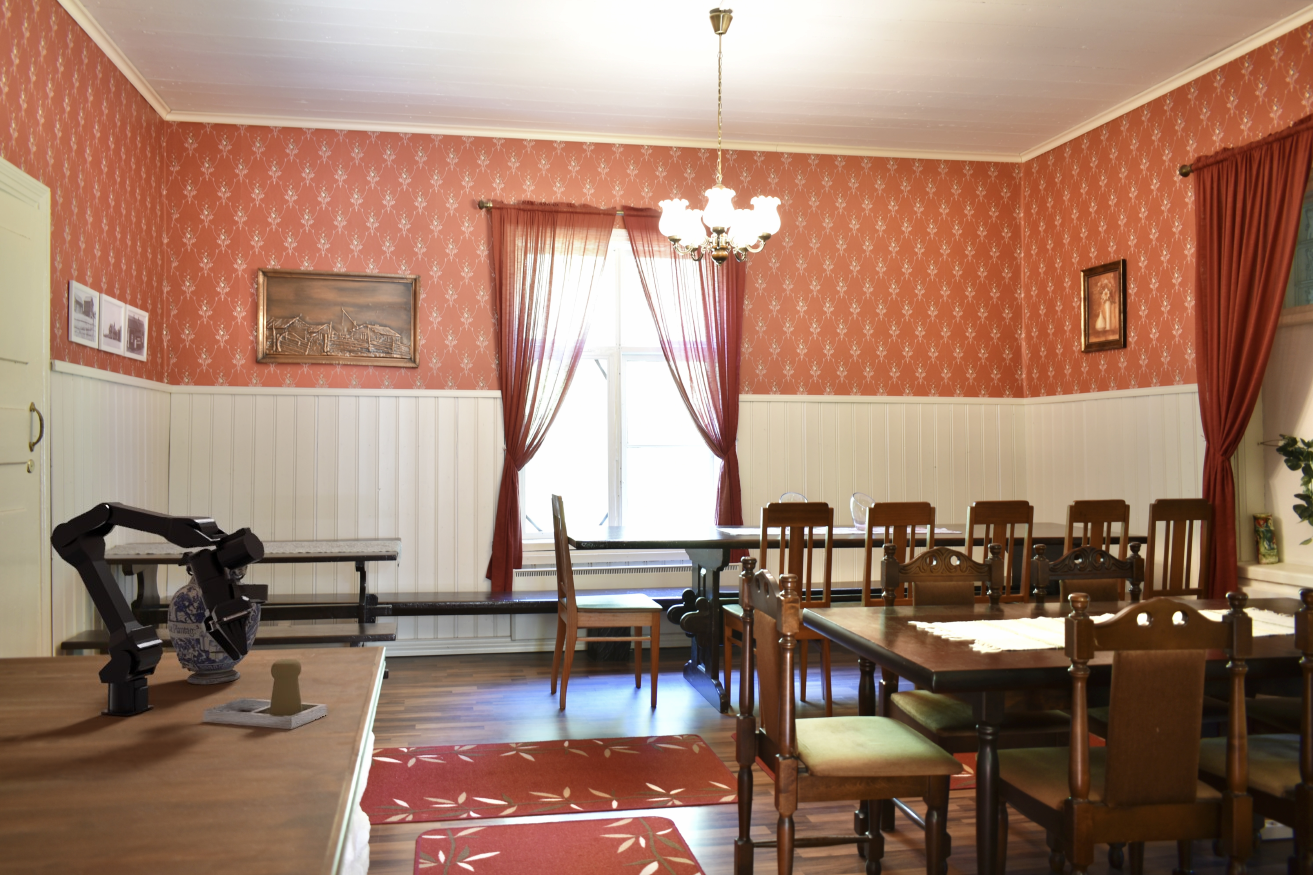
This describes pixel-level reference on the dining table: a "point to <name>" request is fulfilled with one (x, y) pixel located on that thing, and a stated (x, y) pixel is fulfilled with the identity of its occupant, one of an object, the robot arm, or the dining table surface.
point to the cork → (286, 688)
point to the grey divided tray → (261, 714)
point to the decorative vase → (204, 635)
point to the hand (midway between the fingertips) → (240, 657)
